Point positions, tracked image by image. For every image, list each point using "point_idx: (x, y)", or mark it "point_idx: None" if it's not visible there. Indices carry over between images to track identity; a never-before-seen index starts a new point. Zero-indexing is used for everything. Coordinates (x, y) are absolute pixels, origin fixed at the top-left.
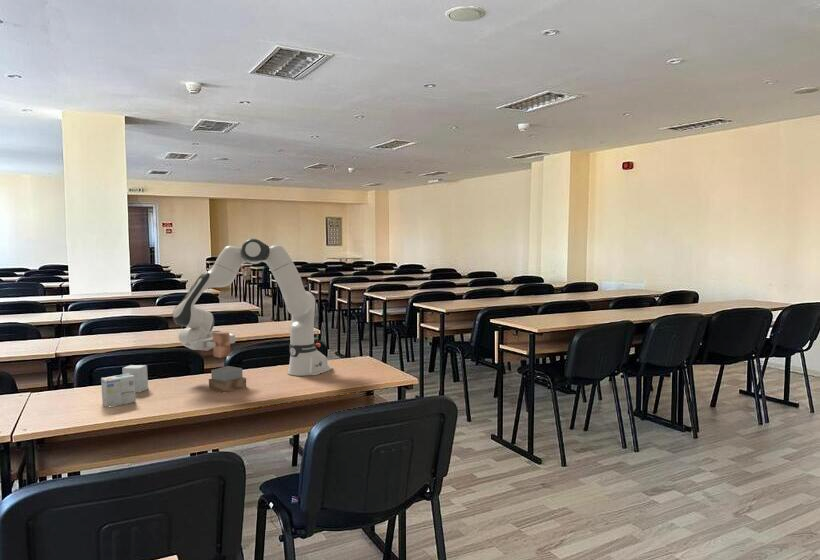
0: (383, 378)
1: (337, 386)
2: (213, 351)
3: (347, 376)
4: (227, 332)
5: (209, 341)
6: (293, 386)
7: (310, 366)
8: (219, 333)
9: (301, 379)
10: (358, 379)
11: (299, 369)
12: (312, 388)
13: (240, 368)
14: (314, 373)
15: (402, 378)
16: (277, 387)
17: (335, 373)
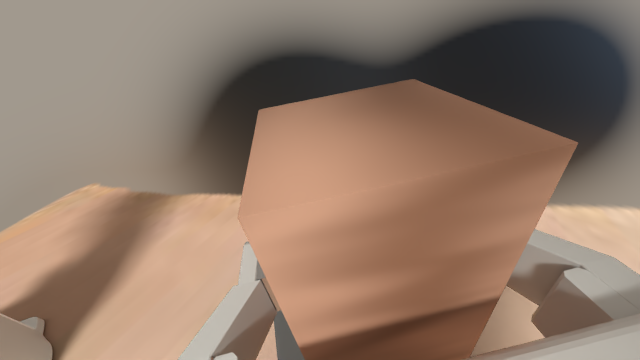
0: (80, 205)
1: (167, 203)
2: (466, 353)
3: (59, 253)
4: (263, 121)
5: (591, 300)
6: (202, 248)
7: (8, 318)
8: (398, 103)
9: (112, 303)
10: (94, 221)
11: (21, 351)
12: (200, 214)
13: (281, 315)
14: (37, 318)
15: (79, 193)
16: (231, 263)
17: (7, 302)
